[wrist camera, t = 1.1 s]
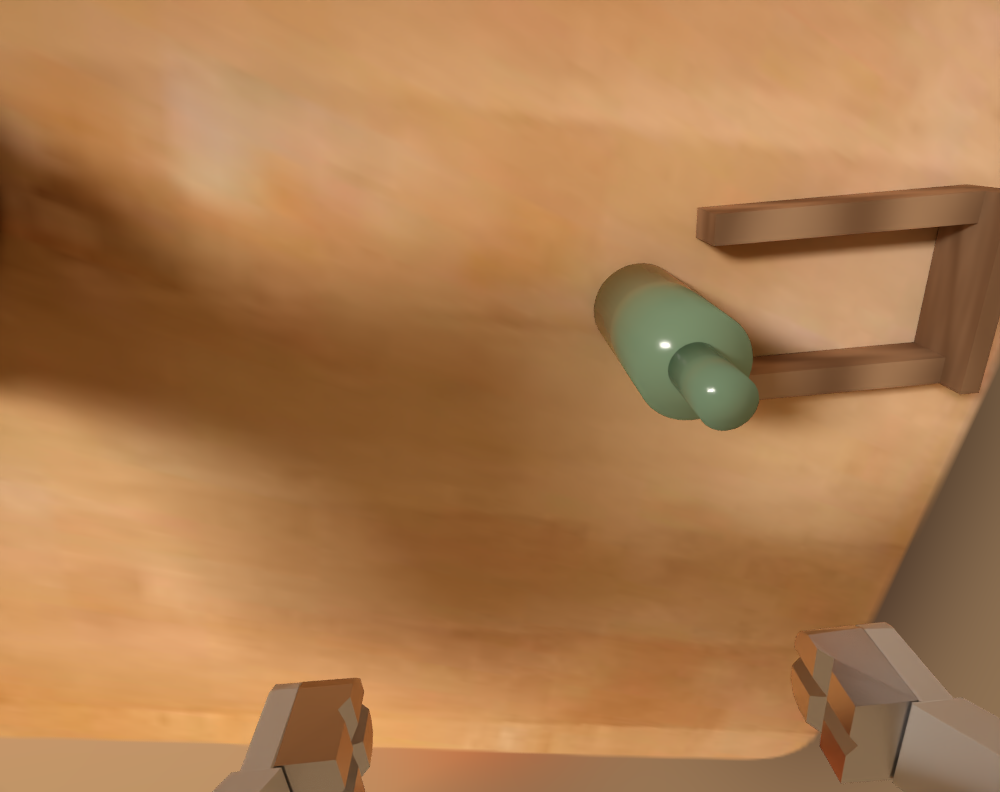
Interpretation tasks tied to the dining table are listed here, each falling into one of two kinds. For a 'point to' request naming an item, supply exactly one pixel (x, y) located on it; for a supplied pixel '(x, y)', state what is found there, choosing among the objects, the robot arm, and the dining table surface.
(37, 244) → the dining table surface
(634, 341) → the bottle
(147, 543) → the dining table surface
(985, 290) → the cradle
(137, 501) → the dining table surface
